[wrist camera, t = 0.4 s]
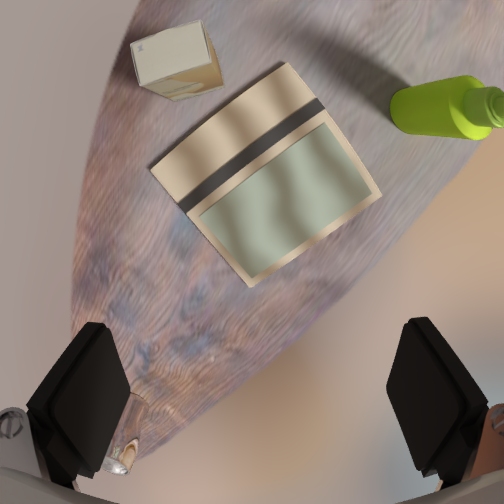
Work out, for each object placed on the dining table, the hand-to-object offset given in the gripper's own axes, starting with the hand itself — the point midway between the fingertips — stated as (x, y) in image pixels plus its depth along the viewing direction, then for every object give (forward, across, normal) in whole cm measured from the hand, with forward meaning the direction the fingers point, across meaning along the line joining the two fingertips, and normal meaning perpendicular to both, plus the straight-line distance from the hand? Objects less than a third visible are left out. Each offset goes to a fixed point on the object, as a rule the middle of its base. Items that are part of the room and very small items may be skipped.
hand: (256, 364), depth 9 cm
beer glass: (+29, +24, +37) cm, 53 cm away
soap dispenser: (+29, -19, -11) cm, 36 cm away
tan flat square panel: (+28, -1, -2) cm, 29 cm away
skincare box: (+29, +7, -14) cm, 33 cm away
